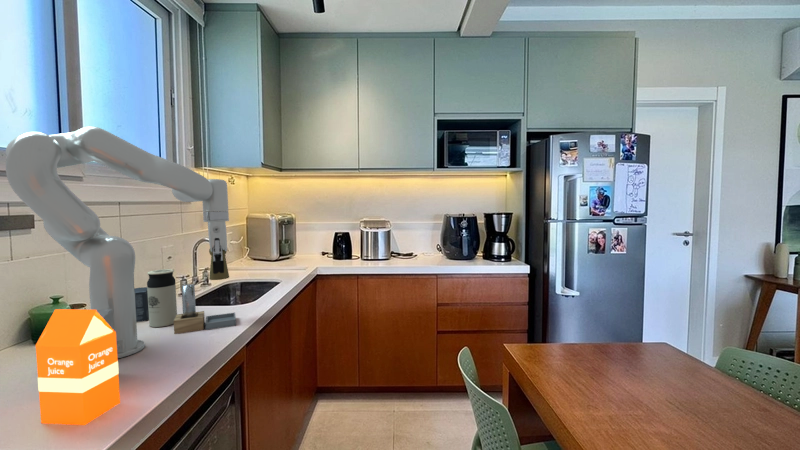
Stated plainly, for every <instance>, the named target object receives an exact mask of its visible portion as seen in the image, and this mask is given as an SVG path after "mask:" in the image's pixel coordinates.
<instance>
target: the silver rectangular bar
mask: <svg viewBox="0 0 800 450" xmlns="http://www.w3.org/2000/svg"><path fill="white" fill-rule="evenodd" d="M195 288H196V287H195V283H189V284H182V285H181V300H182V301H181V302H182V304H181V305H182V314H183V319H184V318H192V317H196V312H197V311H196V310H197V309H196V291H195Z"/></svg>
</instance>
